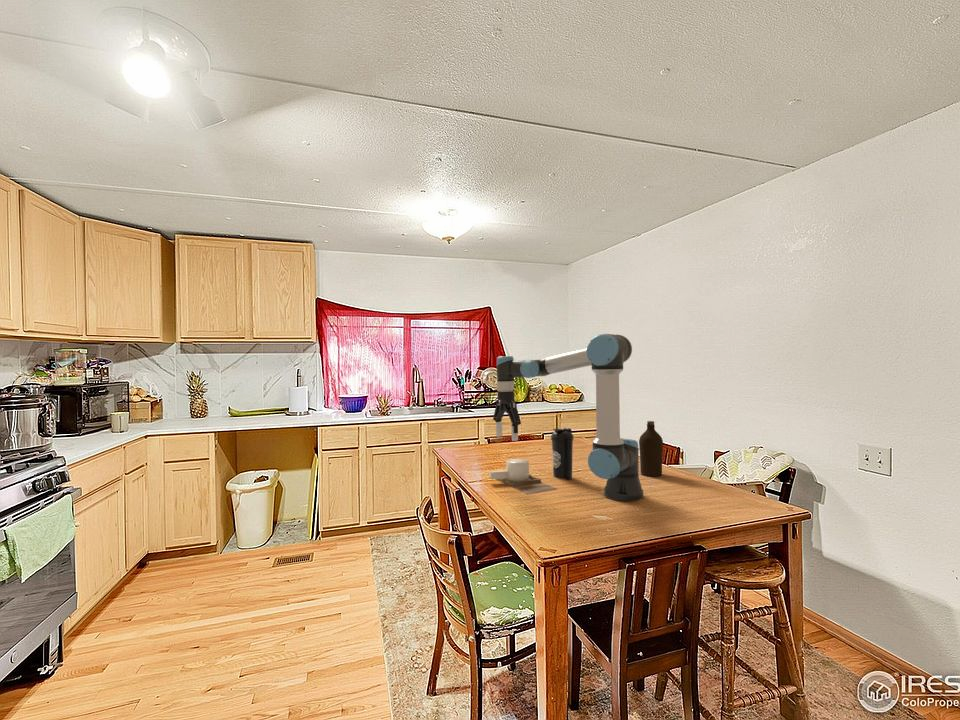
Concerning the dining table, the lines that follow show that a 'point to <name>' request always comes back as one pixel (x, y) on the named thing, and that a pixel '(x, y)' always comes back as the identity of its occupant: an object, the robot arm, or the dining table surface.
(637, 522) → the dining table surface
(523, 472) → the white pot with handle
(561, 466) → the water bottle
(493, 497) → the dining table surface
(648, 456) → the olive oil
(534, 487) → the brown flat rectangular tray
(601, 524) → the dining table surface
